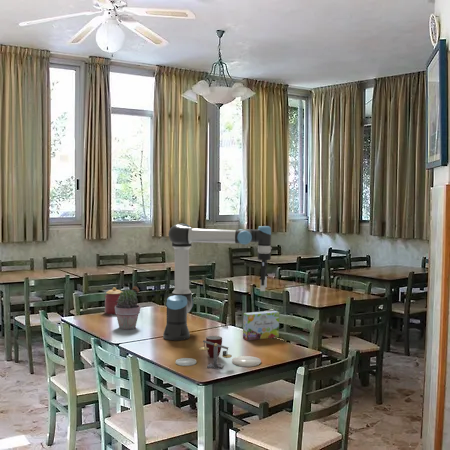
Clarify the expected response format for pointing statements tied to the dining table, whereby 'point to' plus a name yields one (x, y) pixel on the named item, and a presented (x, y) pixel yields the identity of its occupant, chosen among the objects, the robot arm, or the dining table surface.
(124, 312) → the potted plant
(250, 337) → the snack box
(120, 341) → the dining table surface
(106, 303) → the canister
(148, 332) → the dining table surface
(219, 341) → the mug
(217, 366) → the balance
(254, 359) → the dish right
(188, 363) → the saucer left
